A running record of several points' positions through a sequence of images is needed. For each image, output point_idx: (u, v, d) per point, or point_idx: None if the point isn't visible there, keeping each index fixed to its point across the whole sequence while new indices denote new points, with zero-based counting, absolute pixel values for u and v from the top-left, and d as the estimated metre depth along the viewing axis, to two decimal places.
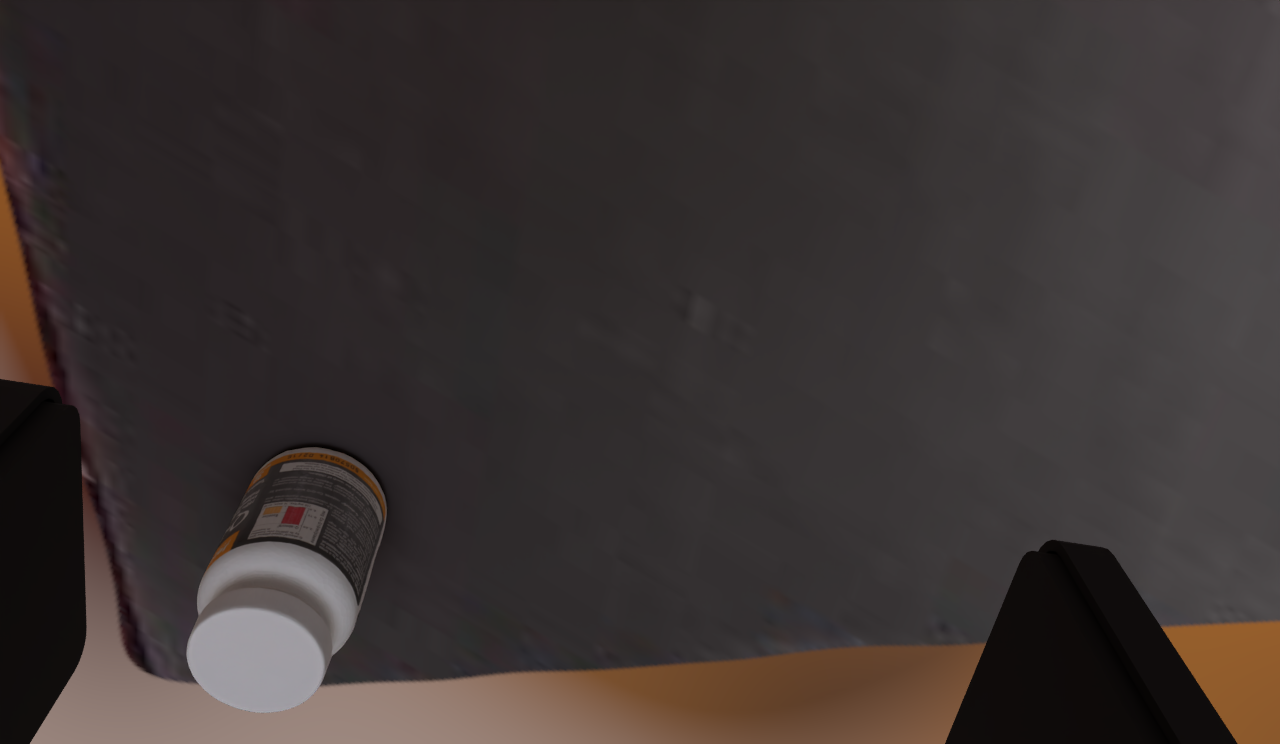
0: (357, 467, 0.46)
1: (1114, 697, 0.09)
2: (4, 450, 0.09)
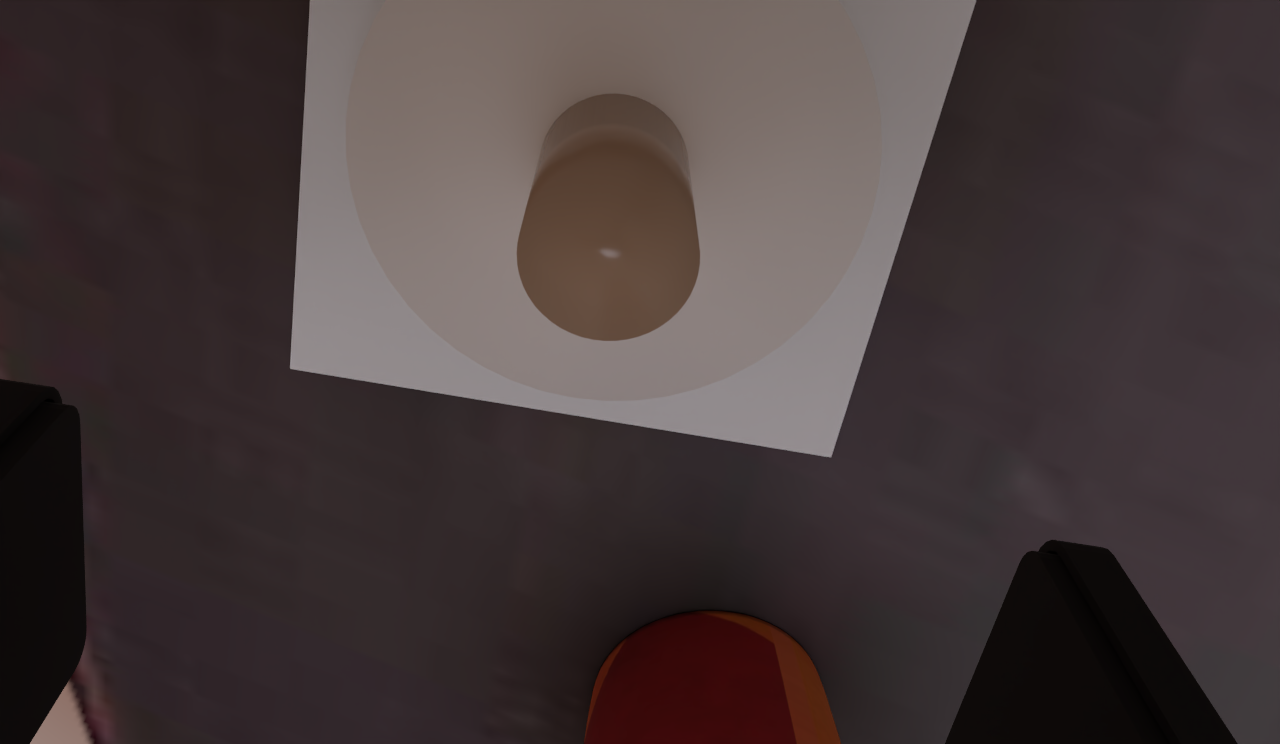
0: None
1: (1114, 697, 0.09)
2: (4, 450, 0.09)
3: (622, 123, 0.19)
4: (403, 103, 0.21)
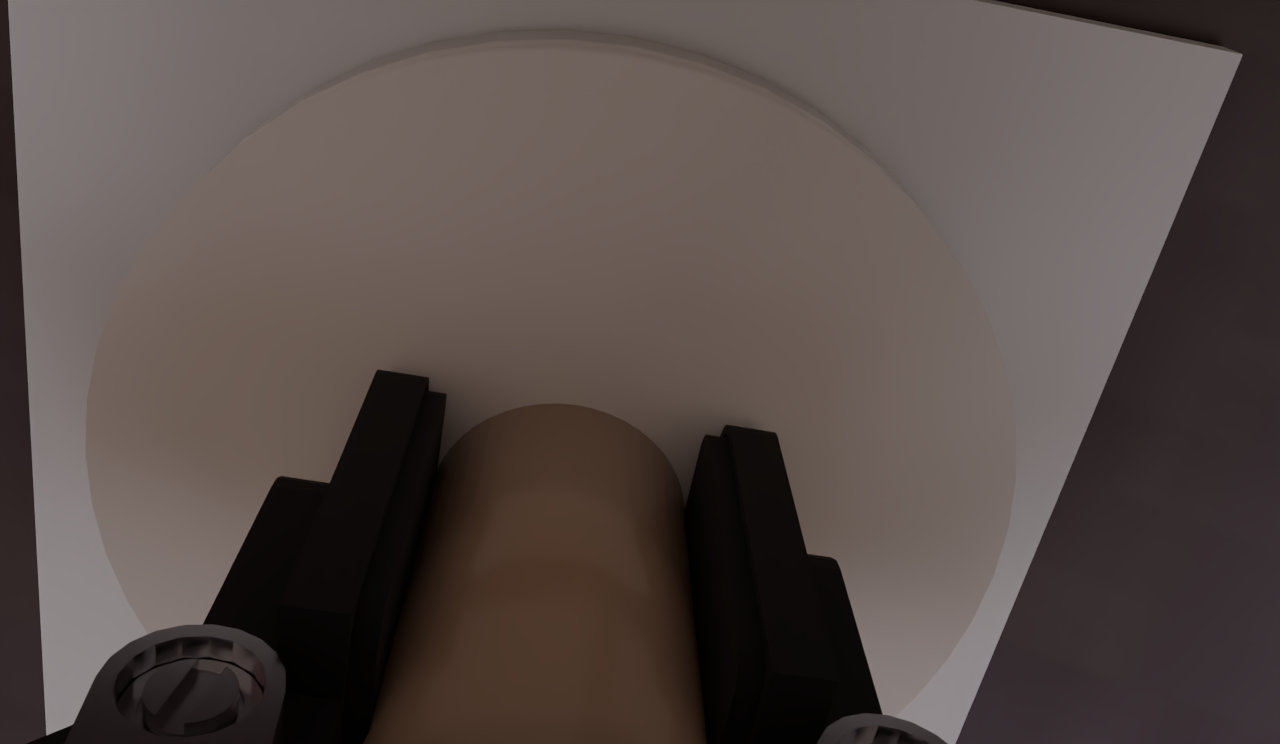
0: None
1: (723, 548, 0.10)
2: (417, 430, 0.11)
3: (562, 507, 0.10)
4: (183, 424, 0.12)
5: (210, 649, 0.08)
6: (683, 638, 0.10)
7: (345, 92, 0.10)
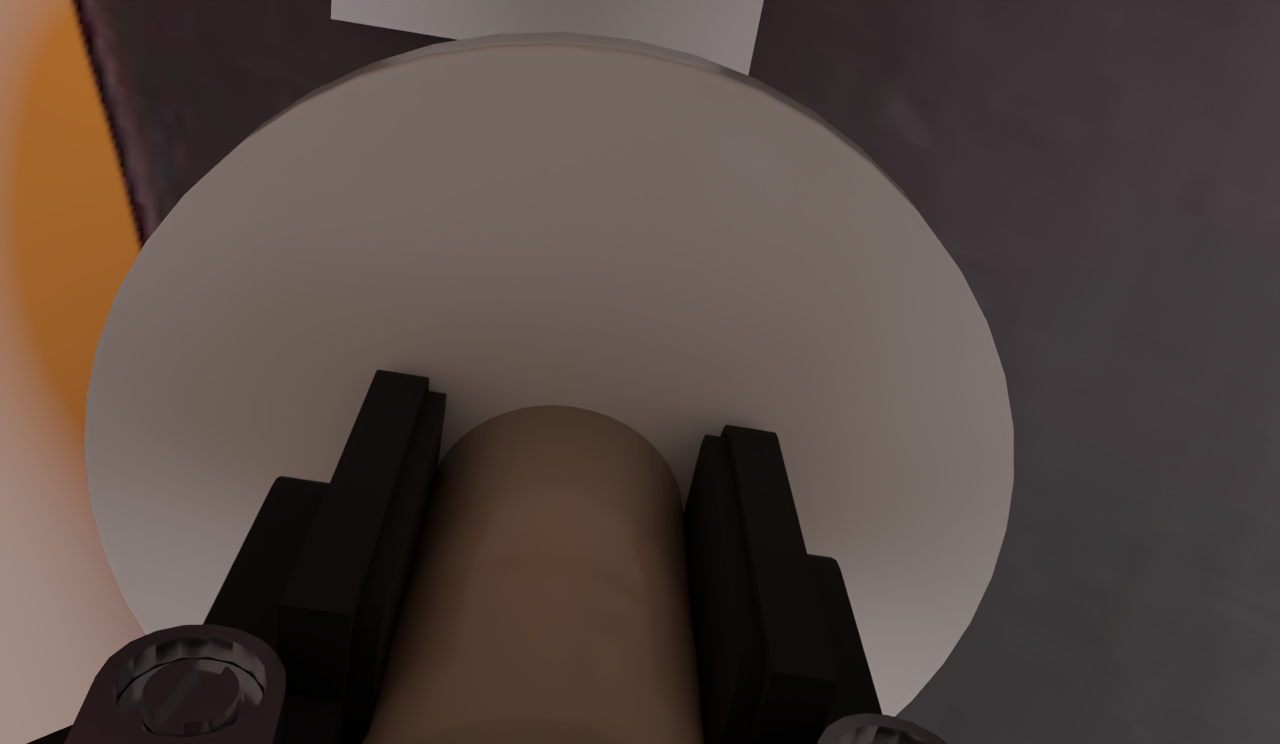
0: None
1: (723, 547, 0.10)
2: (416, 431, 0.11)
3: (560, 509, 0.10)
4: (182, 426, 0.12)
5: (209, 649, 0.08)
6: (681, 640, 0.10)
7: (344, 94, 0.10)
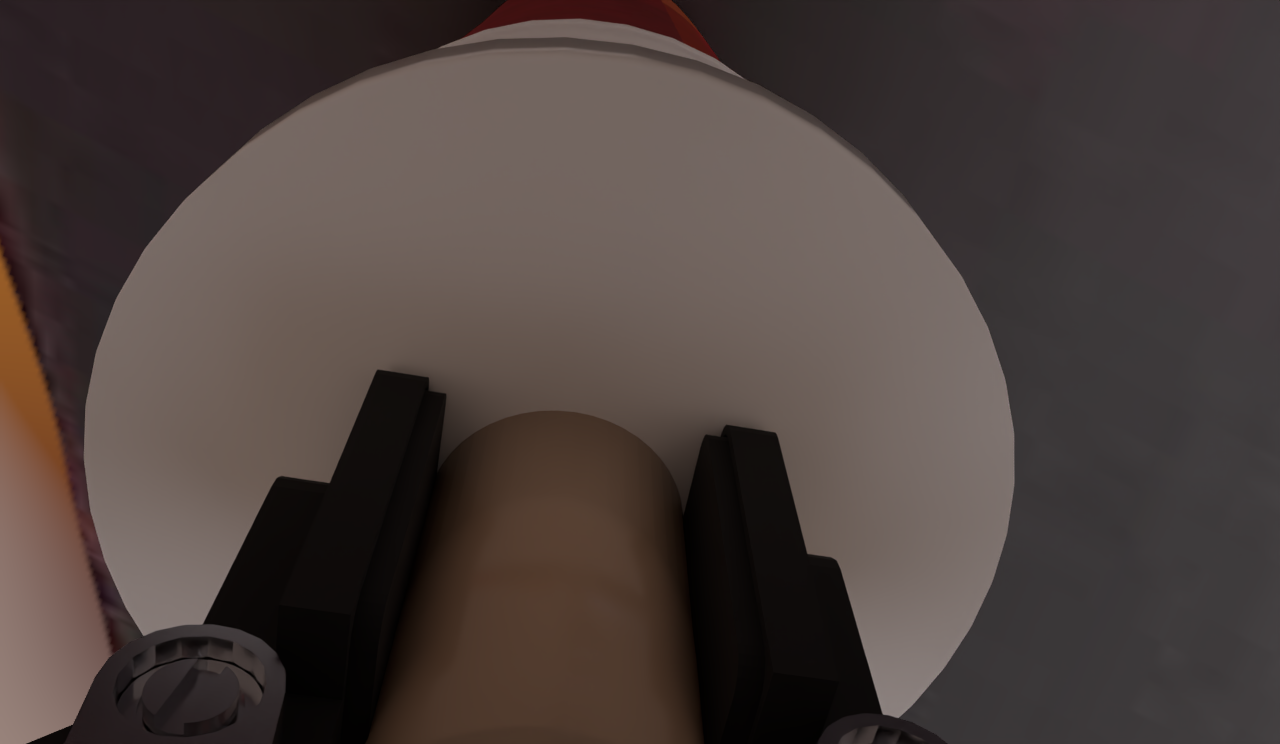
0: None
1: (723, 548, 0.10)
2: (416, 431, 0.11)
3: (560, 515, 0.10)
4: (182, 431, 0.12)
5: (210, 649, 0.08)
6: (681, 646, 0.10)
7: (343, 99, 0.10)
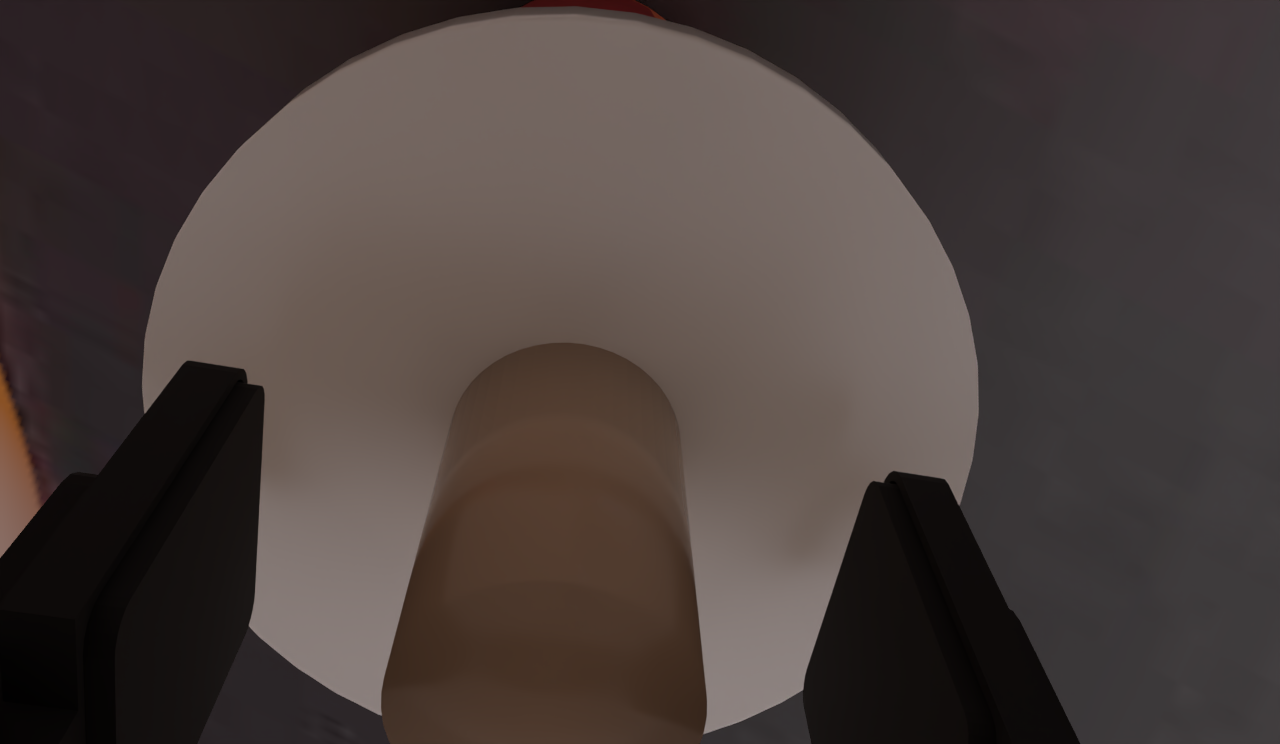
0: None
1: (921, 605, 0.10)
2: (215, 424, 0.10)
3: (572, 424, 0.12)
4: (231, 361, 0.13)
5: None
6: (678, 536, 0.11)
7: (382, 60, 0.12)
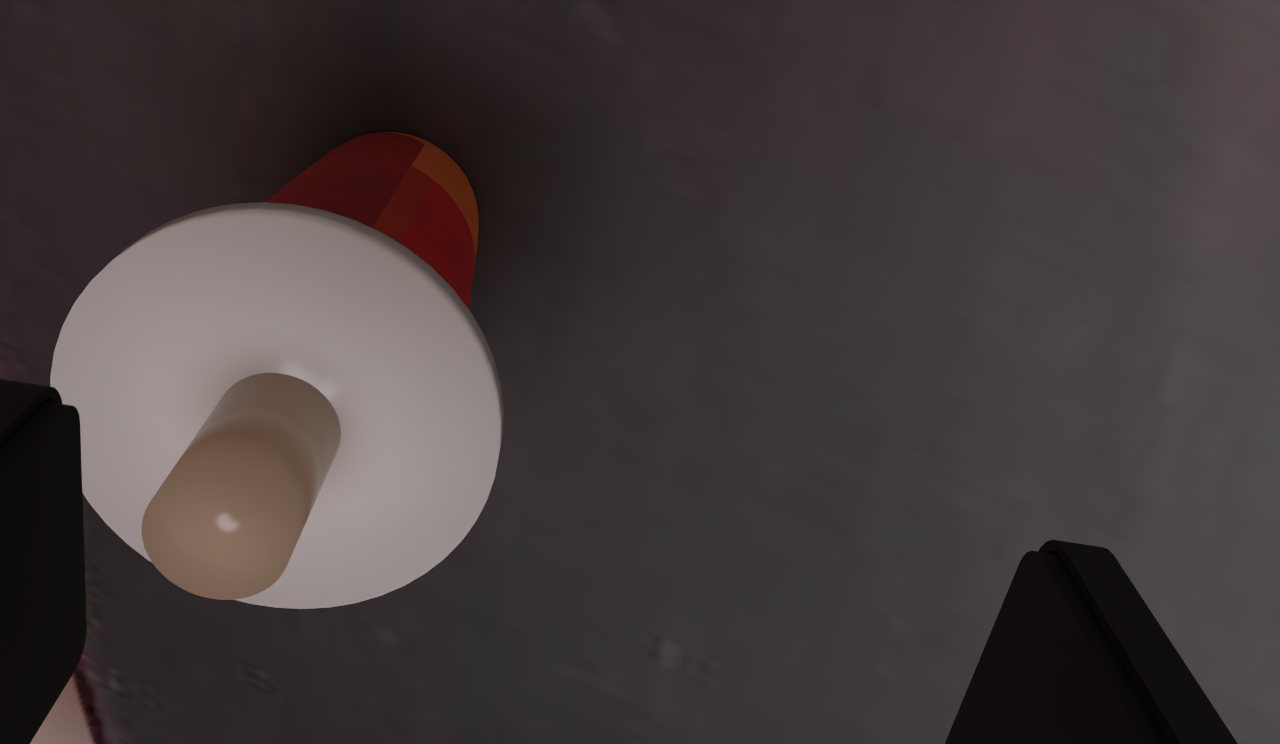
0: None
1: (1114, 697, 0.09)
2: (4, 450, 0.09)
3: (251, 412, 0.24)
4: (96, 388, 0.25)
5: None
6: (296, 463, 0.23)
7: (156, 236, 0.24)
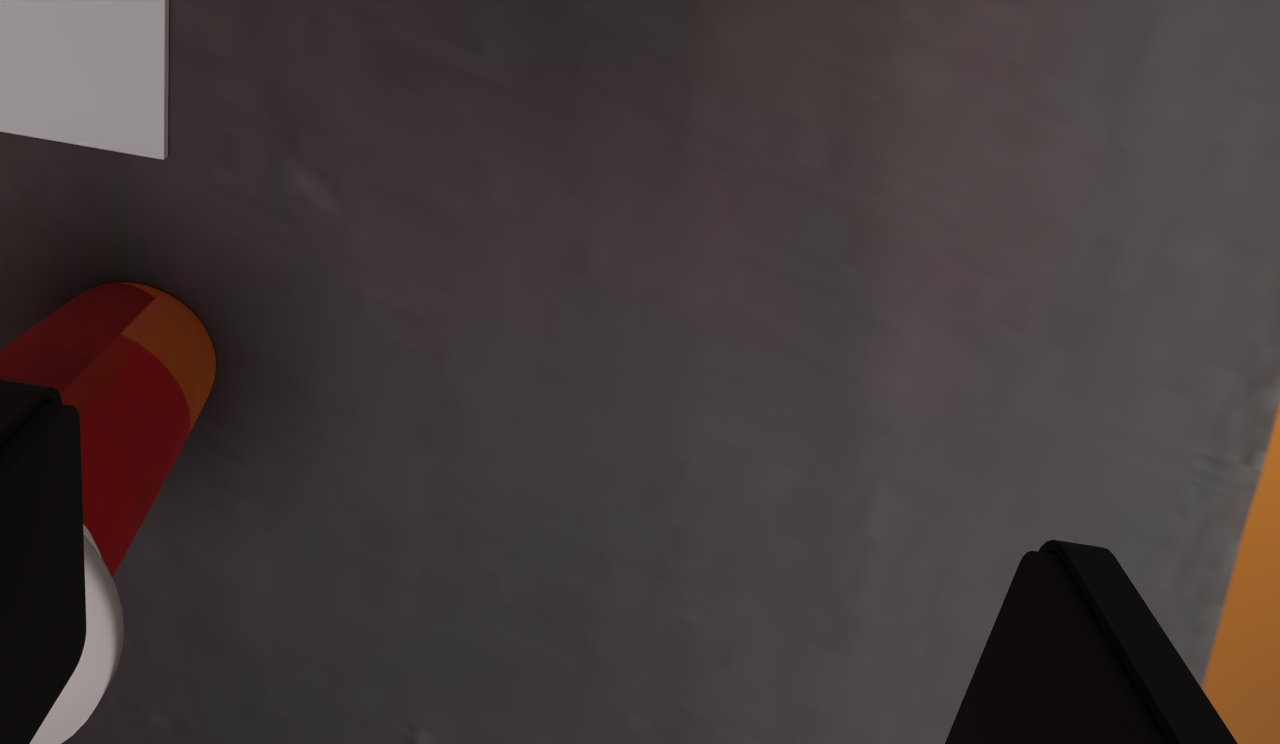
0: None
1: (1114, 697, 0.09)
2: (4, 450, 0.09)
3: None
4: None
5: None
6: None
7: None
